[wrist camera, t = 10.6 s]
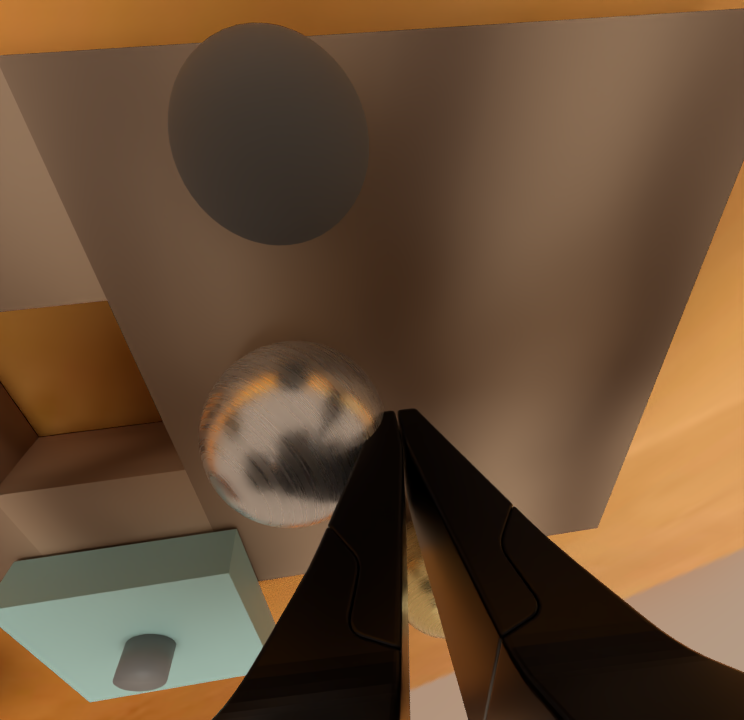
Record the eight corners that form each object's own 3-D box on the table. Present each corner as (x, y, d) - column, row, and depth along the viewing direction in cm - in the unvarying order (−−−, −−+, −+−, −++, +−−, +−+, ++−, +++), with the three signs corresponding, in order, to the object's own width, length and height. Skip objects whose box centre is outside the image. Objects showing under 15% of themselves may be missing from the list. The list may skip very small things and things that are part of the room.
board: (701, 25, 9) (805, 4, 7) (565, 481, 18) (597, 527, 16) (-337, 94, 8) (-557, 90, 6) (58, 556, 17) (23, 617, 15)
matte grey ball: (352, 33, 7) (374, -8, 4) (364, 213, 8) (387, 260, 6) (172, 44, 7) (88, 8, 4) (221, 228, 8) (181, 281, 6)
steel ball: (419, 334, 8) (263, 465, 5) (422, 470, 10) (313, 609, 8) (284, 296, 10) (128, 377, 8) (311, 415, 12) (197, 508, 10)
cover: (236, 528, 13) (222, 607, 11) (277, 628, 17) (272, 701, 15) (14, 561, 13) (-45, 651, 11) (106, 656, 17) (77, 736, 14)
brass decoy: (480, 482, 14) (526, 589, 11) (472, 544, 16) (510, 649, 13) (376, 497, 13) (393, 611, 10) (381, 558, 15) (397, 669, 12)
